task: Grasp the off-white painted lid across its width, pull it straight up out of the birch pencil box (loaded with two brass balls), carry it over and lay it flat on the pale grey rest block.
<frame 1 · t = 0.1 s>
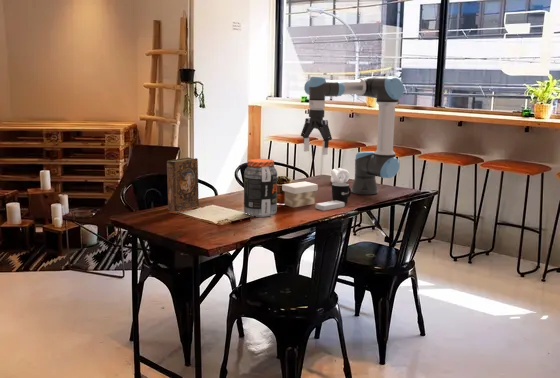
hand: (315, 152, 281), 28 cm above the table, fingers open, 13 cm apart
mug: (342, 203, 298), on the table
ball b: (293, 205, 289), point 1 cm above the table, touching box
supplement tub: (260, 214, 274), on the table
ball a: (305, 203, 294), point 1 cm above the table, touching box
lid: (299, 190, 290), point 8 cm above the table, touching box
book: (182, 210, 279), on the table
white spiral shell: (338, 183, 350), on the table
box: (299, 205, 291), on the table
rest block: (329, 208, 285), on the table
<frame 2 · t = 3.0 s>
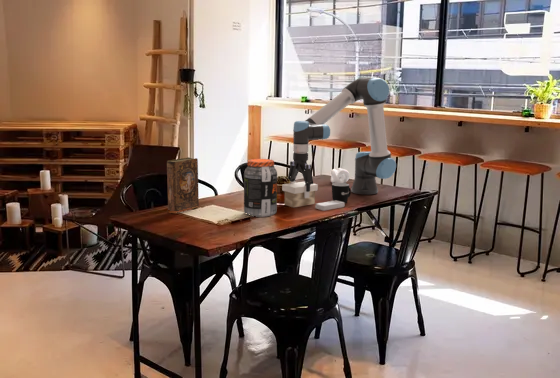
hand: (299, 195, 290), 5 cm above the table, fingers closed on lid, 10 cm apart
lid: (299, 190, 290), point 8 cm above the table, touching box, gripper
everything else where it was.
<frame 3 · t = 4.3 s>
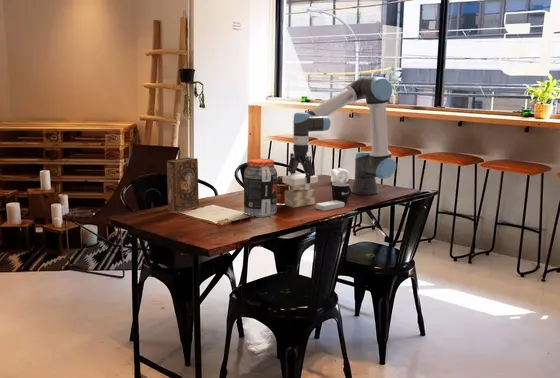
hand: (300, 187, 290), 9 cm above the table, fingers closed on lid, 10 cm apart
lid: (300, 182, 289), point 12 cm above the table, touching gripper
everything else where it was.
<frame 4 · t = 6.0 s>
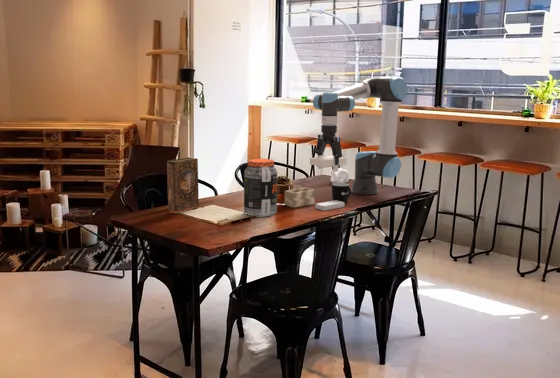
hand: (327, 169, 282), 20 cm above the table, fingers closed on lid, 10 cm apart
lid: (328, 164, 281), point 22 cm above the table, touching gripper
everything else where it was.
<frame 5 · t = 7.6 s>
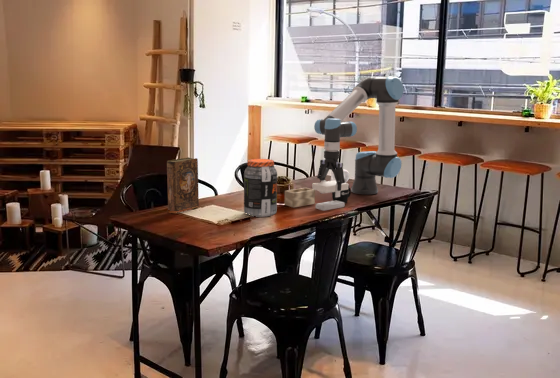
hand: (330, 195, 284), 7 cm above the table, fingers closed on lid, 10 cm apart
lid: (330, 189, 283), point 10 cm above the table, touching gripper
everything else where it was.
when the fingers open (3 cm above the table, at t = 9.0 s): lid drops 1 cm, resting on rest block.
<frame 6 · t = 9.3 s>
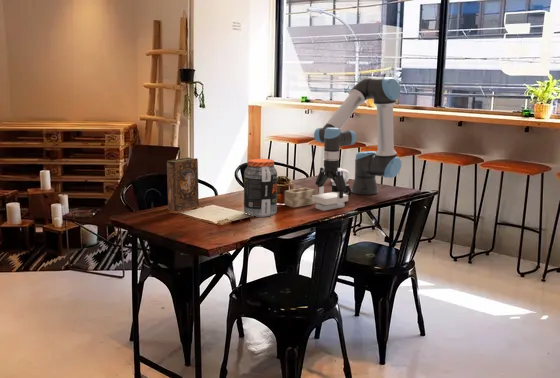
hand: (330, 201, 285), 4 cm above the table, fingers open, 13 cm apart
lid: (330, 201, 285), point 4 cm above the table, touching rest block
everything else where it was.
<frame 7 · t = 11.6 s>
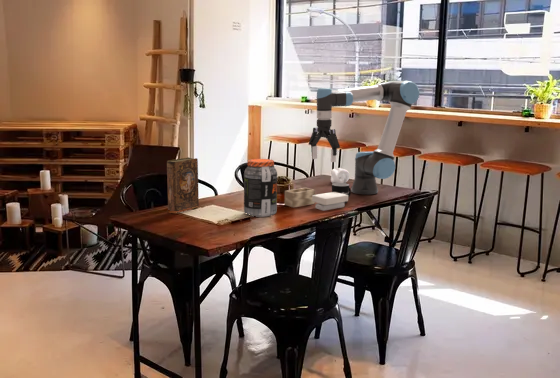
hand: (323, 160, 296), 22 cm above the table, fingers open, 13 cm apart
nothing on the table moved.
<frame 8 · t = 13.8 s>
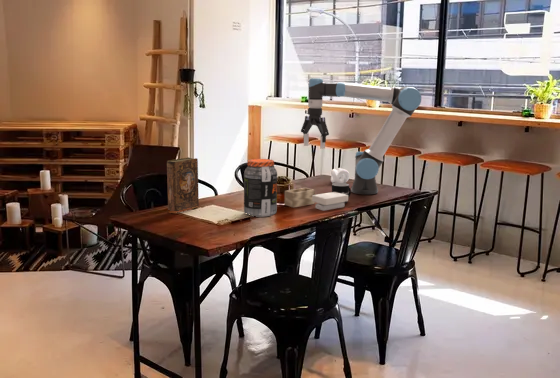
hand: (314, 147, 311), 27 cm above the table, fingers open, 13 cm apart
nothing on the table moved.
at the end: lid inside the target area on the rest block (0.0 cm from its centre), point 4.0 cm above the rest block's base; lid tilted 0°; lid touching rest block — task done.
